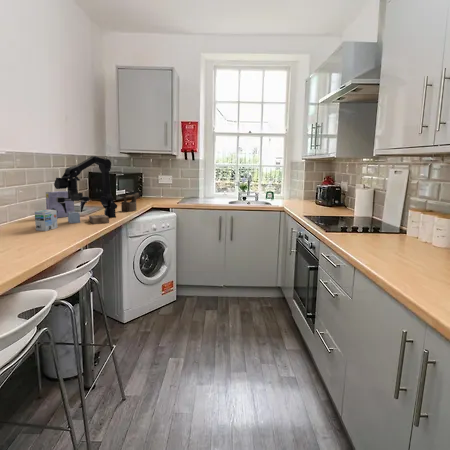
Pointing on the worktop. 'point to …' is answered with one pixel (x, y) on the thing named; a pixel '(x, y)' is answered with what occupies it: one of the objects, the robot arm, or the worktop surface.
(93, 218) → the walnut block
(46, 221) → the light bulb box
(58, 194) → the cake pan box
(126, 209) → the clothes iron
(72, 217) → the slate-blue cube
